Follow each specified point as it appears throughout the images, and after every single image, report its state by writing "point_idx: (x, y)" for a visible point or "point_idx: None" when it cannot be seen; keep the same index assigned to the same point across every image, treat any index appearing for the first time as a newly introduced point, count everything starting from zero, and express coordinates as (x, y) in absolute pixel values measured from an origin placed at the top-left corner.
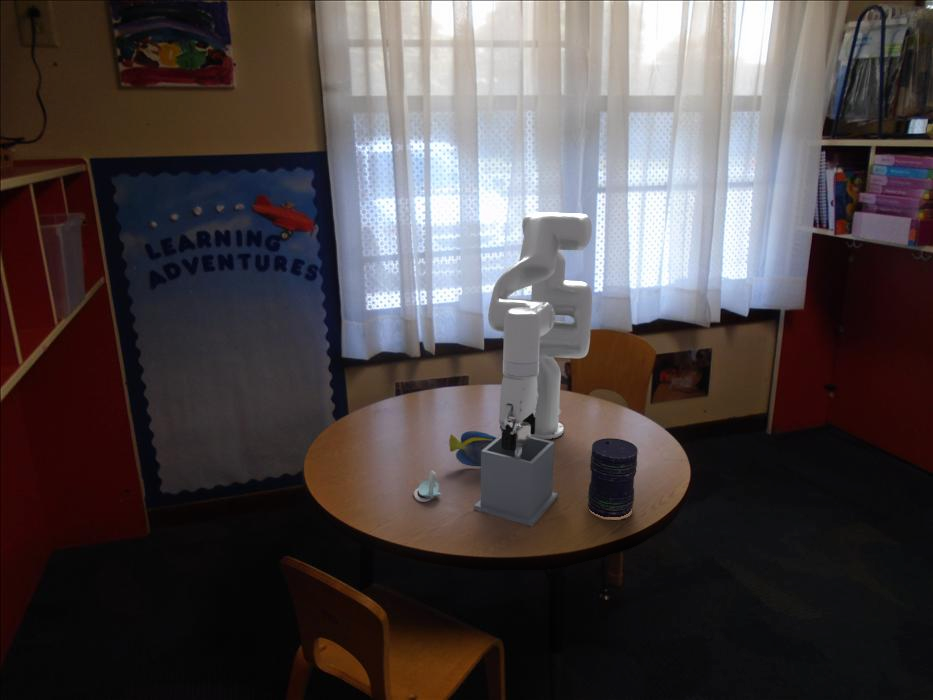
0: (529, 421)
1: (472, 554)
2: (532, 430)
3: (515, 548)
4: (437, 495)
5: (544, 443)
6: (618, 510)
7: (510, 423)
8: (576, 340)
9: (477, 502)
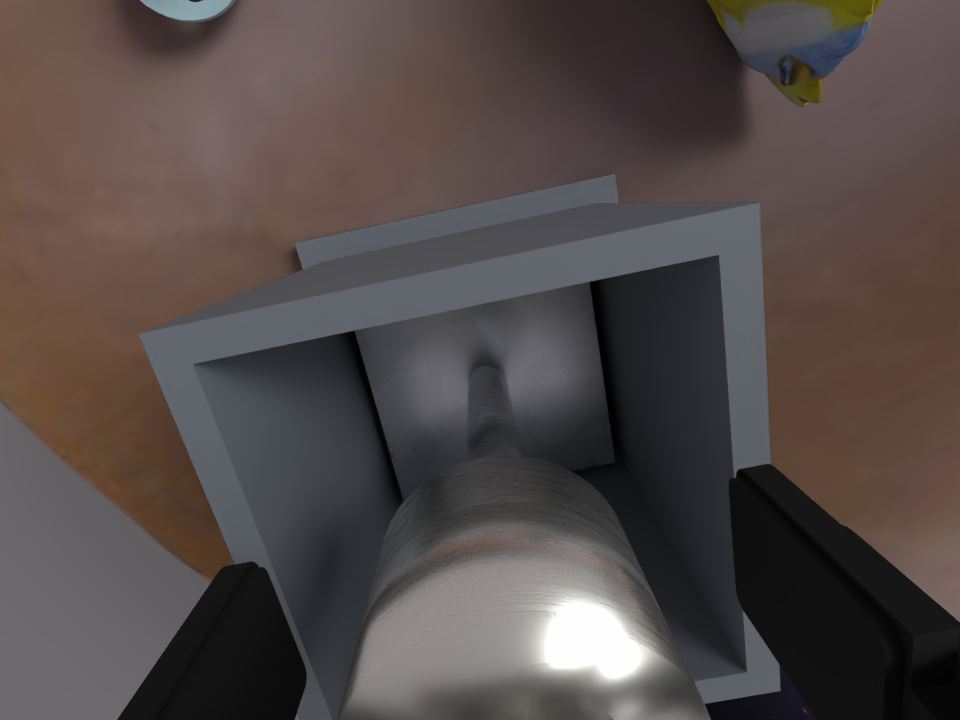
0: (836, 698)
1: (64, 456)
2: (760, 631)
3: (223, 540)
4: (179, 20)
5: (734, 616)
6: None
7: (493, 653)
8: None
9: (326, 236)
